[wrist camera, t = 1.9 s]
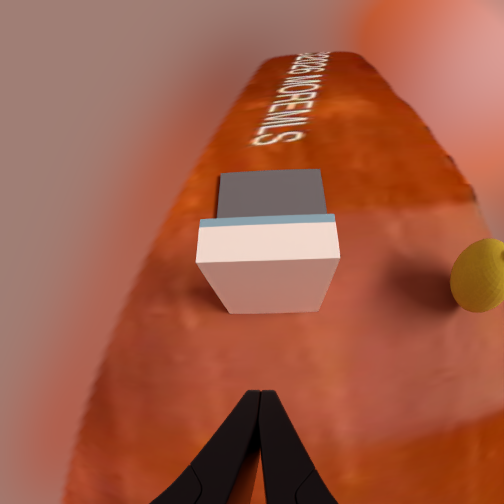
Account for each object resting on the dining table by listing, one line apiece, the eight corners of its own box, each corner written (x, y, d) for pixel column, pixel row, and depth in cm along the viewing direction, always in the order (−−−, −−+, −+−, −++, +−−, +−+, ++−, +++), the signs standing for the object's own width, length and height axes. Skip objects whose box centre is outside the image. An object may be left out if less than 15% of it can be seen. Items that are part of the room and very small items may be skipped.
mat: (333, 272, 24) (334, 270, 24) (213, 276, 25) (212, 274, 24) (319, 171, 29) (319, 169, 28) (221, 176, 30) (221, 173, 29)
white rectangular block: (318, 311, 23) (340, 257, 14) (229, 313, 23) (195, 262, 14) (316, 282, 24) (334, 213, 15) (230, 284, 24) (200, 219, 15)
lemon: (470, 333, 20) (526, 306, 13) (427, 303, 22) (475, 264, 15) (486, 284, 21) (535, 246, 14) (446, 255, 23) (488, 208, 16)
